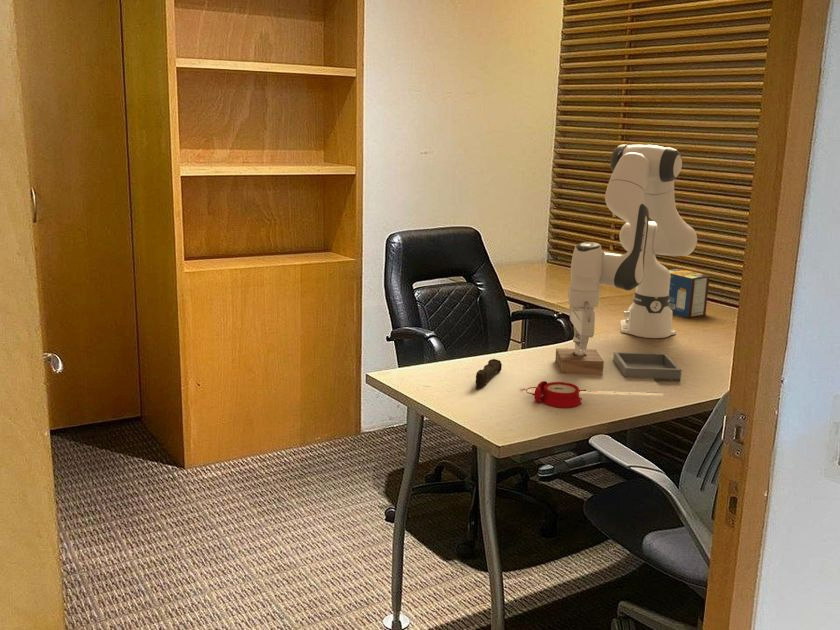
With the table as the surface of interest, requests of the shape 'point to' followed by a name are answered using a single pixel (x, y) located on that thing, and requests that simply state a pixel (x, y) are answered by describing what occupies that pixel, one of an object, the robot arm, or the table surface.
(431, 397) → the table surface
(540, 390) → the alarm clock
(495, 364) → the hand tool
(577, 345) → the pin
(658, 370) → the tray
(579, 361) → the block
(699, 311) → the protein box
